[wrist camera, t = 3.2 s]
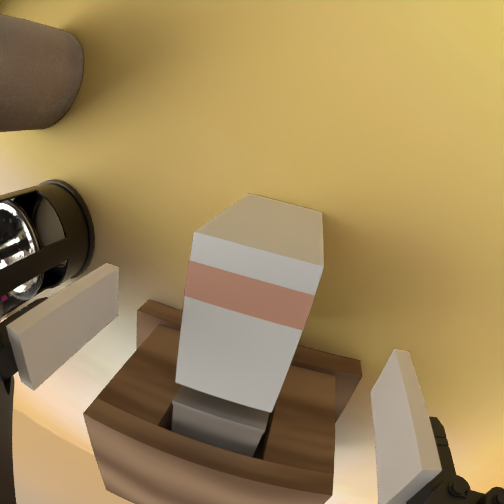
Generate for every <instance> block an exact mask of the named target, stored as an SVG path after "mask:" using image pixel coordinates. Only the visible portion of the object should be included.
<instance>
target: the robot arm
mask: <svg viewBox="0 0 504 504" xmlns="http://www.w3.org/2000/svg"><path fill="white" fill-rule="evenodd" d="M118 285H119V267H117V266H114V265H111V264H108V263H105V264H104V265H102V266H100V267H99V268H97V269H95V270H94V271H92V272H90V273H89V274H87V275H85V276H84V277H82V278H80V279H79V280H77V281H75V282H74V283H72V284H71V285H69V286H67V287H66V288H64V289H62V290H61V291H59V292H58V293H56V294H54V295H53V296H51V297H50V298H47V297H45V298H41V299H38V300H35V301H34V302H32V303H30V304H29V305H27V307H24V308H22V309H21V311H18V312H16V313H15V314H13V315H12V316H10V317H8V318H7V319H5V320H4V321H2V322H1V323H0V504H16V498H15V488H14V476H13V459H12V413H13V412H12V411H13V394H14V377H13V375H14V374H15V373H16V372H17V371H18V373H19V376H20V379H21V382H22V383H24V384H25V385H27V386H28V387H29V388H31V389H32V390H35V389H36V388H38V387H39V386H40V385H41V384H42V383H43V382H44V381H45V380H46V379H47V378H48V377H49V376H51V375H52V374H53V373H54V372H55V371H56V370H57V369H58V368H59V367H60V366H62V365H63V364H64V363H65V362H66V361H67V360H68V359H69V358H70V357H71V356H73V355H74V354H75V353H76V352H77V351H78V350H79V349H80V348H82V347H83V346H84V345H85V344H86V343H87V342H88V341H89V340H91V339H92V338H93V337H94V336H95V335H96V334H97V333H98V332H100V331H101V330H102V329H103V328H104V327H105V326H106V325H108V324H109V323H110V322H111V321H112V320H113V319H114V318H116V317H117V316H118ZM370 396H371V405H372V414H373V425H374V436H375V449H376V464H377V483H378V504H405V503H406V504H504V489H503V488H501V487H494V488H492V489H491V490H490V491H488V492H487V493H486V494H483V493H479V492H475V491H472V490H470V486H469V484H468V482H467V481H466V480H465V479H464V478H462V477H460V476H458V475H456V472H455V468H454V464H453V460H452V456H451V452H450V448H449V447H448V445H449V444H448V441H447V439H446V434H445V430H444V427H443V425H442V424H441V423H440V421H439V420H438V418H437V417H429V415H428V412H427V408H426V405H425V401H424V398H423V394H422V391H421V388H420V384H419V381H418V378H417V375H416V372H415V369H414V365H413V362H412V359H411V356H410V353H409V351H404V350H400V349H395V348H394V350H393V352H392V354H391V356H390V358H389V360H388V361H387V363H386V365H385V367H384V369H383V371H382V373H381V374H380V376H379V378H378V380H377V381H376V383H375V385H374V387H373V388H372V390H371V392H370Z"/></svg>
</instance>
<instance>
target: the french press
mask: <svg viewBox="0 0 504 504" xmlns="http://www.w3.org/2000/svg"><path fill="white" fill-rule="evenodd" d="M43 197H44V198H45V199H46V200H47V201H48V202H49V203H50V204H51V206H52V207H53V208H54V210H55V212H56V214H57V216H58V217H59V220H60V222H61V225H62V227H63V231H64V235H65V238H64V239H61V240H59V241H57V242H55V243H53V244H51V245H48V246H46V247H44V248H42V247H41V243H40V240H39V237H38V234H37V232H36V230H35V227H34V213H35V210H36V207H37V205H38V203H39V201H40V200H41V199H42V198H43ZM10 199H12V200H10ZM93 251H94V229H93V224H92V220H91V216H90V214H89V211H88V209H87V206H86V204H85V203H84V201H83V199H82V198H81V196H80V195H79V194H78V193H77V191H76V190H75V189H73V188H72V187H71V186H70V185H69V184H67V183H65V182H63V181H59V180H48V181H45V182H43V183H41V184H39V185H38V186H34V187H30V188H26V189H22V190H18V191H15V192H11V193H7V194H4V195H0V321H1V318H2V317H3V316H5V315H6V314H8V313H9V312H11V311H12V310H14V309H15V308H17V307H18V306H20V305H22V304H23V303H25V302H26V301H28V300H29V299H31V298H33V297H34V296H36V295H37V294H39V293H40V292H42V291H43V290H45V289H48V288H54V287H56V286H58V285H60V284H61V283H63V282H64V281H66V280H68V279H69V278H74V277H77V276H79V275H80V274H81V273H83V272H84V271H85V270H86V268H87V267H88V265H89V264H90V261H91V259H92V256H93ZM66 260H67V264H66V266H61V265H58V264H60V263H62V262H64V261H66ZM7 293H10V294H11V295H12V296H11V297H10V298H8V299H6V300H5V301H3V302H2V296H4V295H6V294H7Z"/></svg>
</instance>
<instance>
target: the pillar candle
mask: <svg viewBox="0 0 504 504" xmlns="http://www.w3.org/2000/svg"><path fill="white" fill-rule="evenodd" d="M83 66H84V57H83V49H82V46H81V44H80V43H79V42H78V40H77V39H76V38H75V37H74V36H73V35H72V34H71V33H69V32H67V31H64V30H61V29H57V28H54V27H50V26H47V25H43V24H39V23H36V22H32V21H28V20H25V19H20V18H15V17H11V16H7V15H2V14H0V132H7V131H21V130H36V129H44V128H47V127H50V126H51V125H53V124H55V123H56V122H58V121H59V120H60V119H61V118H62V117H63V116H64V115H65V114H66V112H67V111H68V109H69V108H70V106H71V105H72V103H73V101H74V99H75V97H76V95H77V92H78V90H79V87H80V84H81V81H82V75H83Z"/></svg>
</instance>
